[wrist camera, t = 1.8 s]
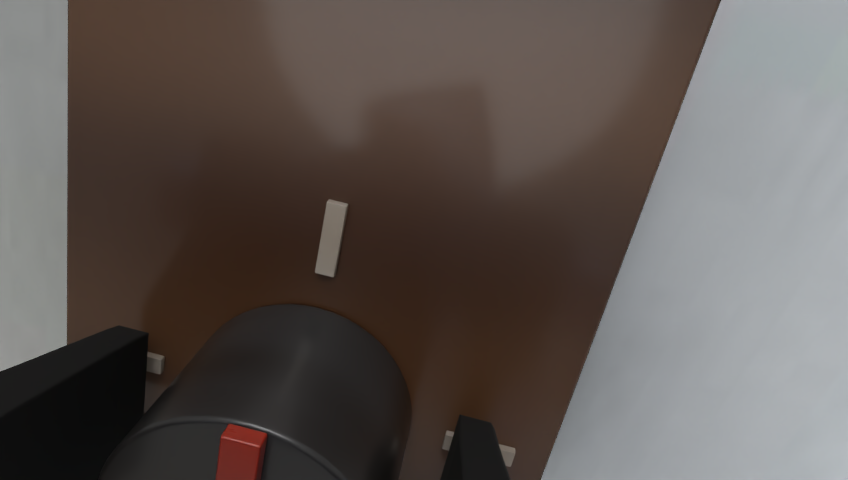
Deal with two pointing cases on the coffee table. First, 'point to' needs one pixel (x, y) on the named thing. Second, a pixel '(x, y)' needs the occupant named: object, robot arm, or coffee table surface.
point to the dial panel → (374, 183)
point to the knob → (275, 406)
